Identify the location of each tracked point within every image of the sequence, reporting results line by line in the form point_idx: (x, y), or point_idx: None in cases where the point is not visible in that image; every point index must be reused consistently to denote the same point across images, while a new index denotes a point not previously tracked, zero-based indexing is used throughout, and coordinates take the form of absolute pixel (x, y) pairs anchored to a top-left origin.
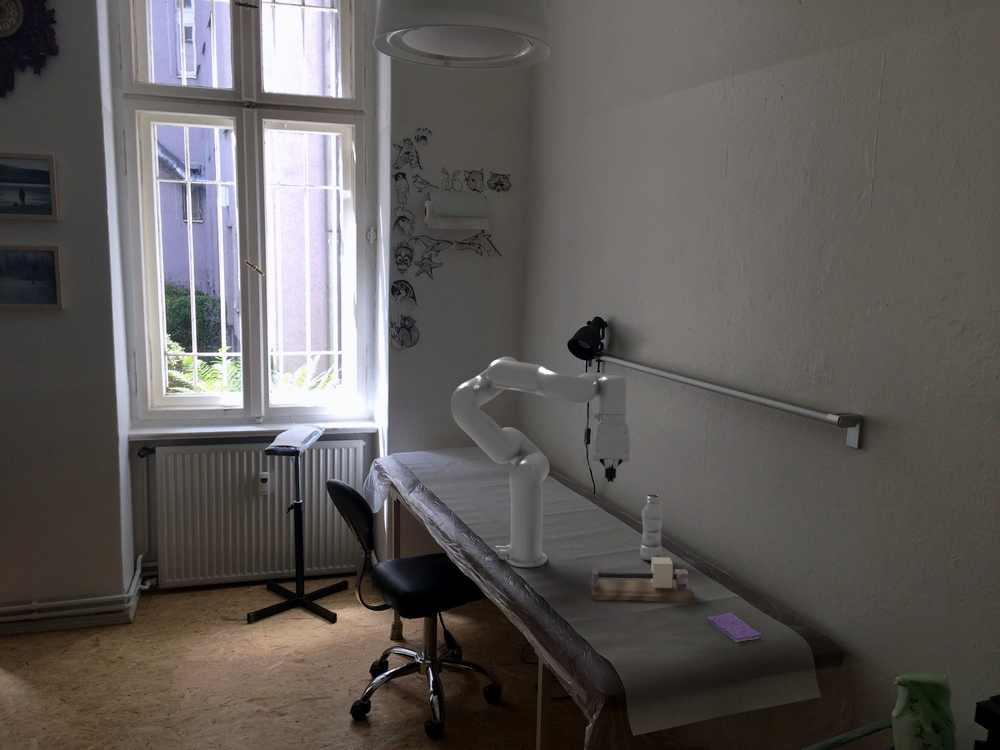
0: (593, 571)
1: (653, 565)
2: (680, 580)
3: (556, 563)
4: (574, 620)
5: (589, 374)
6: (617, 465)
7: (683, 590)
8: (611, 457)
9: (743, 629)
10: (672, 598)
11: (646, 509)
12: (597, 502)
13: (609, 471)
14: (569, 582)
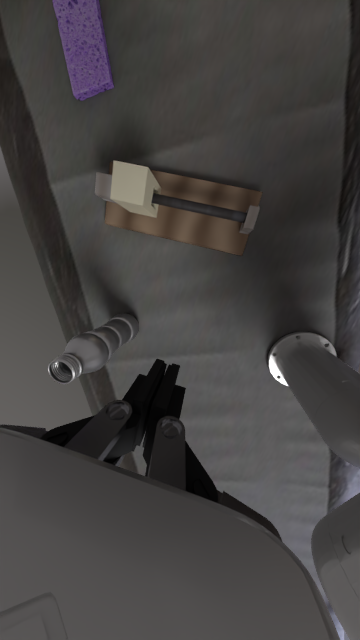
0: (254, 218)
1: (149, 178)
2: None
3: (258, 339)
4: (328, 105)
5: None
6: (99, 412)
7: None
8: (113, 480)
9: (70, 14)
10: None
11: (94, 353)
12: None
13: (163, 395)
14: (268, 269)
